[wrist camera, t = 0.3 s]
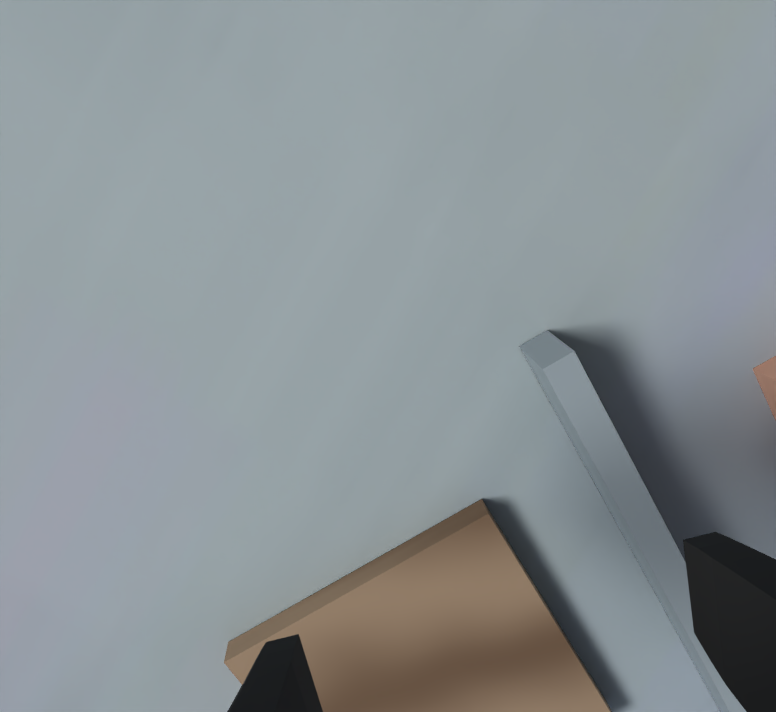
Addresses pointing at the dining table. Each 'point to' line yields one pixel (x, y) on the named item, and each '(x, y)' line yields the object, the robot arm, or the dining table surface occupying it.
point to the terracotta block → (768, 381)
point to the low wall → (622, 493)
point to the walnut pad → (433, 631)
